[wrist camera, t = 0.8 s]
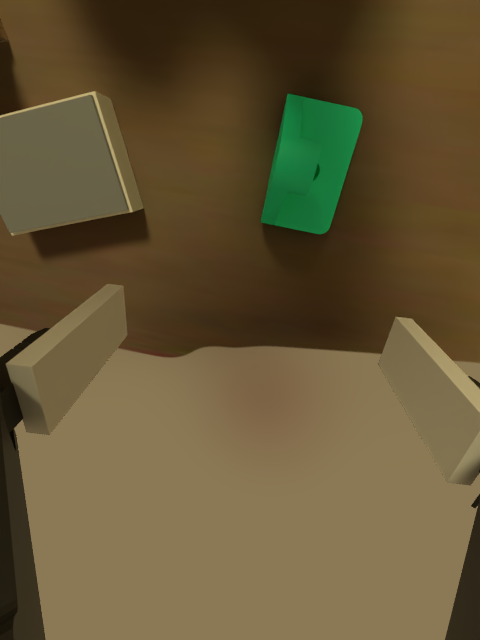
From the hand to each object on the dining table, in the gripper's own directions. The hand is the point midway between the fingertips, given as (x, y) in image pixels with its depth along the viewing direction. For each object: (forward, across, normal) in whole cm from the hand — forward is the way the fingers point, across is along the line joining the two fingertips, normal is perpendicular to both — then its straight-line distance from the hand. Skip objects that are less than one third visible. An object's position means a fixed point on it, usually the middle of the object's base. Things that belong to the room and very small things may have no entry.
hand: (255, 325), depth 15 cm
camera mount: (+25, +4, +7) cm, 27 cm away
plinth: (+25, -23, +4) cm, 34 cm away
